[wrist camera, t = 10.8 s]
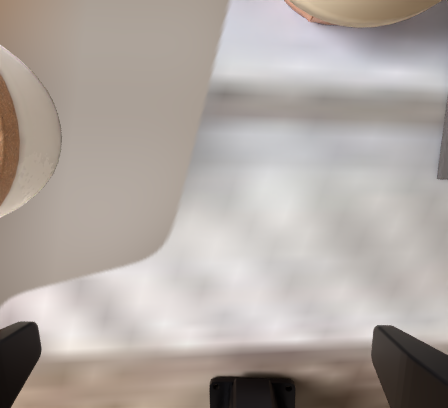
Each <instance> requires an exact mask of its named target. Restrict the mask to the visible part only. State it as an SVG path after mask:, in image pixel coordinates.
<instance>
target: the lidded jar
mask: <svg viewBox="0 0 448 408" xmlns="http://www.w3.org/2000/svg"><path fill="white" fill-rule="evenodd" d="M61 142H62V136H61V126H60V121H59V117H58V113H57V110H56V108H55V105H54V103H53V100H52V99H51V97H50V95H49V93H48V91H47V90H46V88H45V87H44V86H43V84H42V83H41V82H40V80H39V79H38V78H37V76H36V75H35V74H34V73H33V72H32V71H31V70H30V69H29V68H28V67H27V66H26V65H25V64H24V63H23V62H22V61H21V60H20V59H18V58H17V57H16V56H15V55H13V54H12V53H11V52H9V51H8V50H7V49H5V48H4V47H3V46H2V45H0V218H1V217H2V216H5V215H7V214H8V213H11V212H12V211H14V210H16V209H18V208H20V207H21V206H22V205H23V204H25V203H26V202H28V201H29V200H30V199H32V198H33V197H35V196H36V195H37V194H38V193H39V192H40V191H41V190H42V188H43V187H44V186H45V185H46V184H47V182H48V181H49V179H50V178H51V176H52V175H53V173H54V171H55V168H56V166H57V163H58V161H59V156H60V152H61Z"/></svg>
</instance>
